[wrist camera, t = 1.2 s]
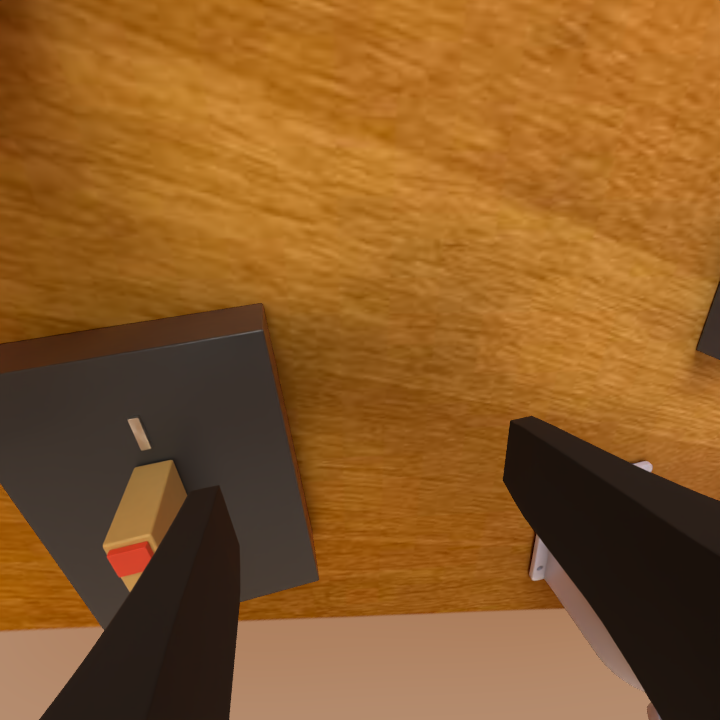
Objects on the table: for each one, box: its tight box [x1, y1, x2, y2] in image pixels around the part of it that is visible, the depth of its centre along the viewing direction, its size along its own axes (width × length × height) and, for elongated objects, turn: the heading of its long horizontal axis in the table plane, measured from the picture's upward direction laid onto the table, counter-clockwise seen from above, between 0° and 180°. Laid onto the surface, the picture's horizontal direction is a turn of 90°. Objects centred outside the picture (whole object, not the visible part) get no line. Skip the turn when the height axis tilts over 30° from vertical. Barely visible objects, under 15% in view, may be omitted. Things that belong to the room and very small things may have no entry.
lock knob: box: [103, 460, 187, 592], centre depth 14 cm, size 5×1×4 cm, turn 5°
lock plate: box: [0, 303, 319, 630], centre depth 17 cm, size 14×10×3 cm
